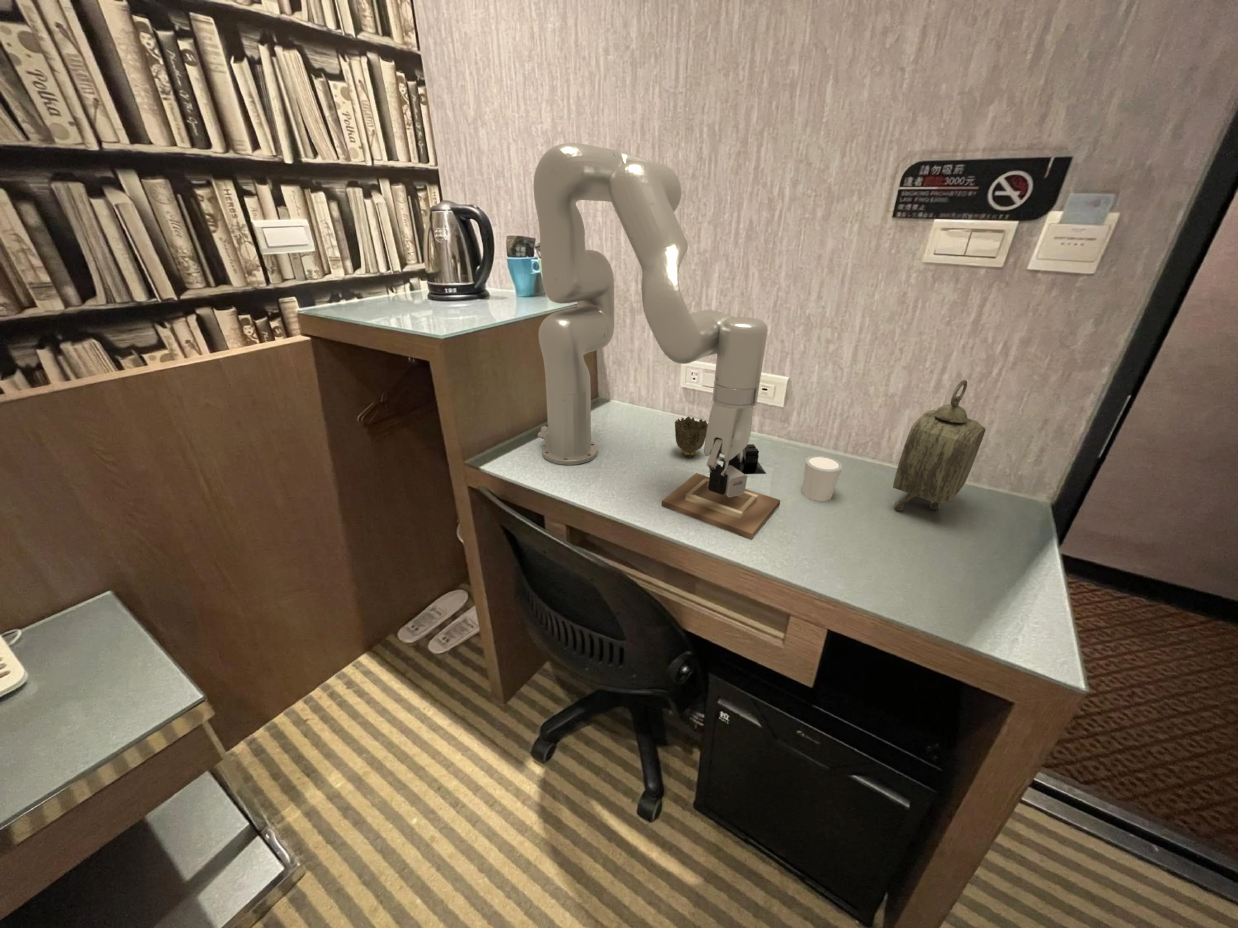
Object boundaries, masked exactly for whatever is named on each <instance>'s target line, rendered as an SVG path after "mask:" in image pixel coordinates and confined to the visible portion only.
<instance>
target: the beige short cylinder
mask: <svg viewBox="0 0 1238 928" xmlns="http://www.w3.org/2000/svg"><path fill="white" fill-rule="evenodd" d="M842 470H843V464H842V463H841V462H840V461H839V460H836V459H834V458H832V457H829V456H824V455H811V456H807V458H805V460H804V471H803V478H802V479H803V480H802V489H801V492H802V494H803V495H804V497H806V498H808V499H809V500H813V501H816V502H817V501H818V502H826V501H830V500H831V499H832V497H833V495H834V491H835V489H836V486H837V484H838V481H839V478H840V476H841V473H842Z"/></svg>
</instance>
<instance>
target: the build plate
mask: <svg viewBox="0 0 1238 928" xmlns="http://www.w3.org/2000/svg"><path fill="white" fill-rule="evenodd" d="M759 452H760V451H759V449H758V448H757V447H756V445H755V444H753V443H751V444H750V443H748V445H747V446H746V447H745V448H744V450H743V459H742V461H741V469H740V472H742V473H743V474H745V475H767V472H766V471H765V469H764V468H763V467H762V465H761V464H760V462H759ZM739 462H740V461H739Z"/></svg>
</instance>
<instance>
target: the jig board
mask: <svg viewBox="0 0 1238 928" xmlns="http://www.w3.org/2000/svg"><path fill="white" fill-rule="evenodd" d="M709 477H710V476H706V475H704V474H701V473H698V472H695V473H694V474H693V475H692V476H691V477H689V478H687V480H685V481H684V482H683V483H682V484H681V485H679V486H678V487H677V488H675V490H673V491H672V492H670V494H668V495H667V496H666V497H664V498H663V499H662V500H661V507H663V508H665V509H668V510H671V511H674V512H676V513H679V514H681V515H684V516H687V517H689V518H692V519H694V520H697V521H701V522H703V523H706V524H709V525H711V526H712V527H713V526H714V527H716V528H719V529H721V530H725V531H727V532H730V533H733V534H735V535H738V536H741V537H743V538H746V539H748V540H752V539H753V538H754V537H755V536H756V535H757V533H758V532H759V531H760V530H761V528H762V527H763V526H764V525H765V523H766V522H767V521H768V520H769V519H770V518H771V516H772V515H773V514H774V513H775V512H776V510H777V509H778V508H779V507H780V503H781V499H779V498H775V497H772V496H770V495H769V496H768V495H766V494H763V493H760V492H756V491H753V490H750V489H747V488H745V492H744V493H743V494H741V495H737V496H733V497H728V496H726V495H725V494H724V495H721V494H718V493H715V492H712V491H709V489H708V486H709Z"/></svg>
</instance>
